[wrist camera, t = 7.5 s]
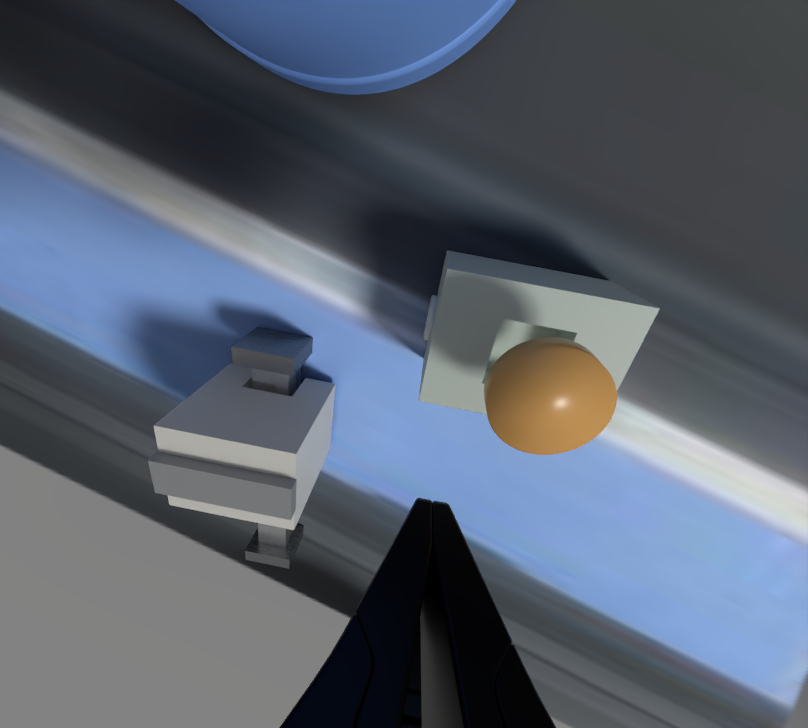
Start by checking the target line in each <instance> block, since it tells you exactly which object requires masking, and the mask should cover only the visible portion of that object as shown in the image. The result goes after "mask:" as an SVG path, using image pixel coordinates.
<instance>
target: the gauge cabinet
mask: <svg viewBox="0 0 808 728" xmlns="http://www.w3.org/2000/svg"><path fill="white" fill-rule="evenodd" d="M659 309H660V308H658V307H656V306H654V305H652V304H651V303H649V302H647V301H645V300H644V299H642V298H640V297H638V296H636V295H635V294H633V293H631V292H629V291H627V290H626V289H624V288H622V287H620V286H618V285H617V284H615V283H613V282H611V281H608V280H603V279H598V278H592V277H587V276H582V275H576V274H571V273H566V272H560V271H555V270H550V269H544V268H539V267H534V266H528V265H523V264H518V263H512V262H507V261H502V260H496V259H491V258H486V257H480V256H475V255H470V254H465V253H459V252H454V251H449V250H447V252H446V256H445V261H444V266H443V270H442V275H441V280H440V285H439V289H438V294H437V296H436V295H432V296H431V300H430V305H429V310H428V315H427V320H426V325H425V331H424V336H423V340H426V341H427V346H426V350H425V355H424V361H423V369H422V377H421V385H420V393H419V401H421V402H426V403H431V404H436V405H441V406H446V407H451V408H457V409H462V410H467V411H472V412H477V413H482V414H487V411H486V406H485V400H484V384H485V380H486V377H487V375H488V372H489V371H490V369H491V367H492V366H493V364H494V363H495V362H496V361H497V360H498V359H499V358H500V356H501V355H503V354H504V353H505V352H506V351H508V350H509V349H511V348H512V347H514V346H516V345H518V344H520V343H522V342H525V341H528V340H532V339H536V338H543V337H558V338H564V339H568V340H572V341H574V342H577V343H579V344H581V345H582V346H584V347H586V348H587V349H588V350H589V351H591V352H592V353H593V355H594V356H595V357H596V358H597V359H598V360H599V361H600V362H601V363H602V365H603V366H604V367H605V368H606V369H607V370H608V371H609V373H610V374H611V376H612V378H613V380H614V382H615V386H616V390H618V388H619V386H620V384H621V382H622V380H623V378H624V377H625V375H626V373H627V371H628V369H629V367H630V365H631V363H632V361H633V359H634V357H635V355H636V353H637V351H638V350H639V348H640V346H641V344H642V342H643V340H644V338H645V336H646V334H647V332H648V330H649V328H650V326H651V324H652V323H653V321H654V319H655V317H656V315H657V313H658V311H659Z"/></svg>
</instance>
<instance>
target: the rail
mask: <svg viewBox="0 0 808 728" xmlns="http://www.w3.org/2000/svg"><path fill="white" fill-rule="evenodd" d="M312 341H313V338H312V337H307V336H302V335H297V334H291V333H286V332H281V331H276V330H271V329H266V328H260V327H257V328H256V329H254V330H253V331H251V332H250V333H249V334H247V335H246V336H245V337H243V338H242V339H241V340H239V341H238V342H237V343H235V344H234V345H233V346H231V353H232V364H233V365H239V366H244V367H249V368H252V389H256V390H261V391H267V392H272V393H277V394H282V395H287V396H293V395H294V393H295V392H296V391H297V389H298V388H299V386H300V385H301V366H302V365H303V364H304V363H305V361H306V360H307V359H308V358H309V356H310V355H311V354H312ZM303 527H304V526H301V525H296V527H295V529H294V530H290V529H285V528H280V527H275V526H270V525H266V524H261V523H258V528H257V530H256V532H255V534H254V535H253V537H252V539H251V541H250V543H249V544H248V546H247V548H246V550H245V558H246V560H249V561H254V562H259V563H264V564H269V565H274V566H278V567H283V568H288V569H289V568H290V565H291V563H292V561H293V558H294V556H295V553H296V551H297V548H298V546H299V543H300V541H301V538H302V536H303Z"/></svg>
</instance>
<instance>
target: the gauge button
mask: <svg viewBox="0 0 808 728" xmlns="http://www.w3.org/2000/svg"><path fill="white" fill-rule="evenodd" d="M484 400H485V406H486V411H487V416H488V420H489V423H490V425H491V427H492V429H493V430H494V432H495V433H496V435H497V436H498V437H499V438H500V439H501V440H502V441H504V442H505V443H506V444H508V445H509V446H511V447H513V448H515V449H517V450H520V451H523V452H527V453H531V454H540V455H549V454H558V453H563V452H567V451H570V450H573V449H576V448H578V447H580V446H582V445H584V444H586V443H588V442H589V441H591V440H592V439H593V438H595V437H596V436H597V435H598V434H599V433H600V432H601V431H602V430H603V429H604V428H605V427H606V426H607V424H608V423H609V421H610V419H611V418H612V415H613V413H614V411H615V407H616V402H617V390H616V386H615V382H614V380H613V378H612V376H611V374H610V373H609V371H608V370H607V369H606V368H605V367H604V366H603V365H602V363H601V362H600V361H599V360H598V359H597V358H596V357H595V356H594V355H593V353H592V352H591V351H589V350H588V349H587V348H586V347H584V346H582V345H581V344H579V343H577V342H574V341H572V340H568V339H564V338H558V337H543V338H536V339H532V340H528V341H525V342H522V343H520V344H518V345H516V346H514V347H512V348H511V349H509V350H508V351H506V352H505V353H504V354H503V355H501V356H500V358H499V359H498V360H497V361H496V362H495V363H494V364H493V366H492V367H491V369H490V371H489V372H488V375H487V377H486V380H485V384H484Z"/></svg>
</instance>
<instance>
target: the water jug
mask: <svg viewBox="0 0 808 728" xmlns="http://www.w3.org/2000/svg"><path fill="white" fill-rule="evenodd" d="M175 1H176V2H178V3H179V4H181V5H182V6H183V7H185V8H186V9H188V10H189V11H191V12H192V13H193V14H195V15H196V16H197V17H198V18H199V19H200V20H202V21H203V22H204V23H205V24H206V25H207V26H208V27H209V28H210V29H211V30H212V31H214V32H215V33H216V34H217V35H218V36H220V37H221V38H222V39H223V40H225V41H226V42H227V43H229V44H230V45H231V46H233V47H234V48H236V49H237V50H238V51H240V52H241V53H243V54H244V55H246V56H247V57H249V58H250V59H252V60H253V61H255V62H256V63H258V64H259V65H261V66H263V67H264V68H266V69H268V70H269V71H271V72H273V73H275V74H277V75H279V76H281V77H283V78H285V79H287V80H289V81H292V82H294V83H297V84H299V85H302V86H305V87H308V88H312V89H315V90H319V91H324V92H330V93H337V94H350V95H360V94H373V93H380V92H386V91H390V90H394V89H398V88H401V87H405V86H407V85H410V84H413V83H415V82H418V81H420V80H422V79H425V78H427V77H429V76H431V75H433V74H434V73H436V72H438V71H440V70H441V69H443V68H445V67H446V66H448V65H449V64H451V63H452V62H454V61H455V60H457V59H458V58H459V57H461V56H462V55H463V54H465V53H466V52H467V51H469V50H470V49H471V48H472V47H473V46H474V45H476V44H477V43H478V42H479V41H480V40H481V39H482V38H483V37H484V36H485V35H486V34H487V33H488V32H489V31H490V30H491V29H492V28H493V27H494V26H495V25H496V24H497V23H498V22H499V21H500V20H501V19H502V17H503V16H504V15H505V14H506V13H507V12H508V10H509V9H510V8H511V7H512V6H513V4H514V3H515V2H516V0H175Z"/></svg>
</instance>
